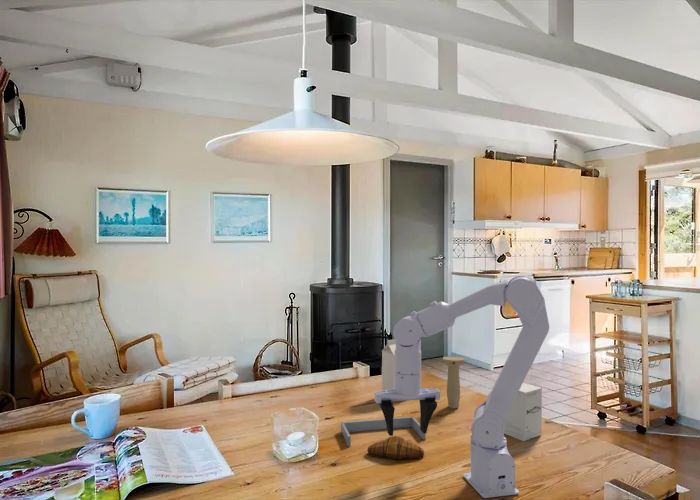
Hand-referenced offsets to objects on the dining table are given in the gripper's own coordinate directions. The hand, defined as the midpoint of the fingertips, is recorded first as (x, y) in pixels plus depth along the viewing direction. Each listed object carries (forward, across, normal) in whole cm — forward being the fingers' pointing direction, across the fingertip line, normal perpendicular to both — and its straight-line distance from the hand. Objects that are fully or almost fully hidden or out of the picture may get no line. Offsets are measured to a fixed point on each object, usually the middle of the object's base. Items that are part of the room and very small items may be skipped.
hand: (406, 432), depth 106 cm
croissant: (+9, 0, -8) cm, 12 cm away
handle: (+9, -27, -36) cm, 46 cm away
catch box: (+9, 0, -20) cm, 22 cm away
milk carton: (+9, -13, -49) cm, 52 cm away
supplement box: (+8, -36, -13) cm, 39 cm away
